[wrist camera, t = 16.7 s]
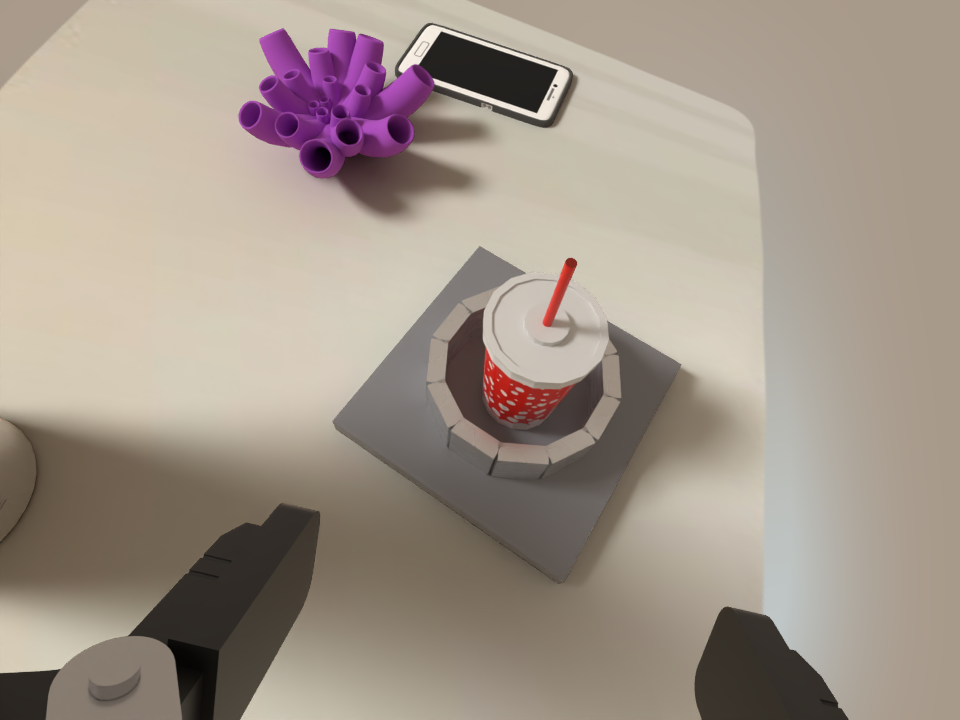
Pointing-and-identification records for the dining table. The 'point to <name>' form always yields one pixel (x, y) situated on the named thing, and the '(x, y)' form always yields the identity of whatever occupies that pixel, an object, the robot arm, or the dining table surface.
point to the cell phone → (489, 74)
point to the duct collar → (484, 447)
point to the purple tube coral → (334, 101)
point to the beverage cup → (539, 345)
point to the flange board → (504, 432)
